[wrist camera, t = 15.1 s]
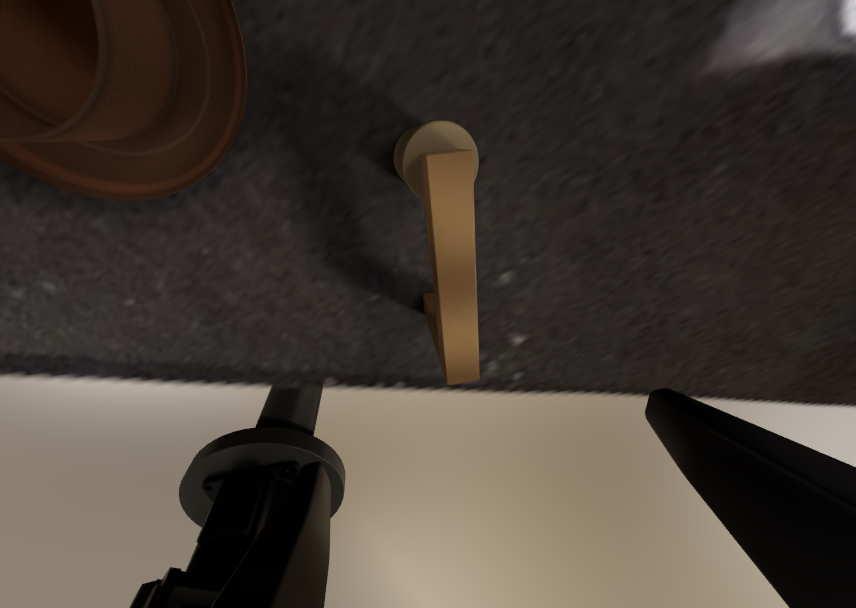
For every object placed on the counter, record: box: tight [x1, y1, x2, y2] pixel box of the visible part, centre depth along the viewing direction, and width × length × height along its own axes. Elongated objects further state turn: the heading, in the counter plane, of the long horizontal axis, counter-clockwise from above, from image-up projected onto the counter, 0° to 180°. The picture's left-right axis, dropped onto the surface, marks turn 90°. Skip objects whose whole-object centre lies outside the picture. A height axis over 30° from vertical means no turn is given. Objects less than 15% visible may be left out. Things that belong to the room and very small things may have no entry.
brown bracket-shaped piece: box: [394, 120, 479, 385], centre depth 16 cm, size 11×3×7 cm, turn 6°
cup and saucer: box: [0, 0, 248, 201], centre depth 11 cm, size 12×12×6 cm
